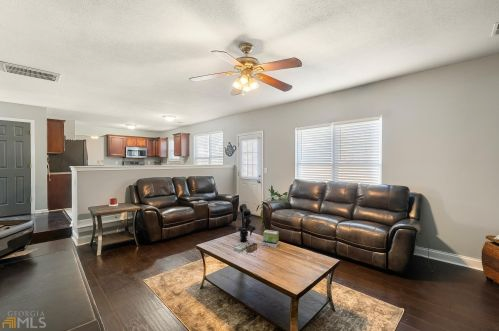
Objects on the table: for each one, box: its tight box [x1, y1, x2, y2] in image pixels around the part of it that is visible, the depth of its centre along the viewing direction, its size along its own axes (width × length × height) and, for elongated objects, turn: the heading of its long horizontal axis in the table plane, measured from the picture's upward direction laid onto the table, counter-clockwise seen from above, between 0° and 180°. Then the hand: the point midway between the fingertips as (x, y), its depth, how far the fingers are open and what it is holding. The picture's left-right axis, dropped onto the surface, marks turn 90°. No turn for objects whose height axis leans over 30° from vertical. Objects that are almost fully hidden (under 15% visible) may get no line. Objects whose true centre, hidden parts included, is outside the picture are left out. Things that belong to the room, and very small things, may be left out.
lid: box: [234, 244, 247, 252], centre depth 232 cm, size 10×6×3 cm, turn 143°
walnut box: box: [245, 242, 258, 254], centre depth 228 cm, size 12×5×6 cm, turn 143°
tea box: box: [262, 229, 280, 248], centre depth 244 cm, size 15×10×15 cm
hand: (246, 236), depth 237 cm, fingers open, 9 cm apart
